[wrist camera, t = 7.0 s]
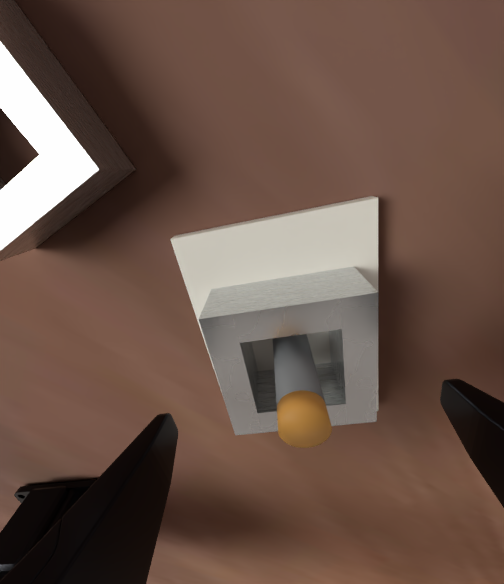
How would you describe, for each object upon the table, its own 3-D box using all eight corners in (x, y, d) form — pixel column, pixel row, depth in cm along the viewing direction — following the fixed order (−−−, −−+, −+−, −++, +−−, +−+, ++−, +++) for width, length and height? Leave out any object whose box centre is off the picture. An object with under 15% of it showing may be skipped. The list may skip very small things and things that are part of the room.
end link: (356, 378, 13) (376, 421, 11) (239, 391, 14) (235, 435, 12) (353, 266, 11) (378, 292, 8) (211, 289, 11) (198, 319, 9)
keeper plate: (374, 401, 15) (430, 519, 10) (234, 417, 16) (221, 532, 11) (372, 196, 10) (475, 221, 5) (174, 235, 11) (105, 289, 6)
